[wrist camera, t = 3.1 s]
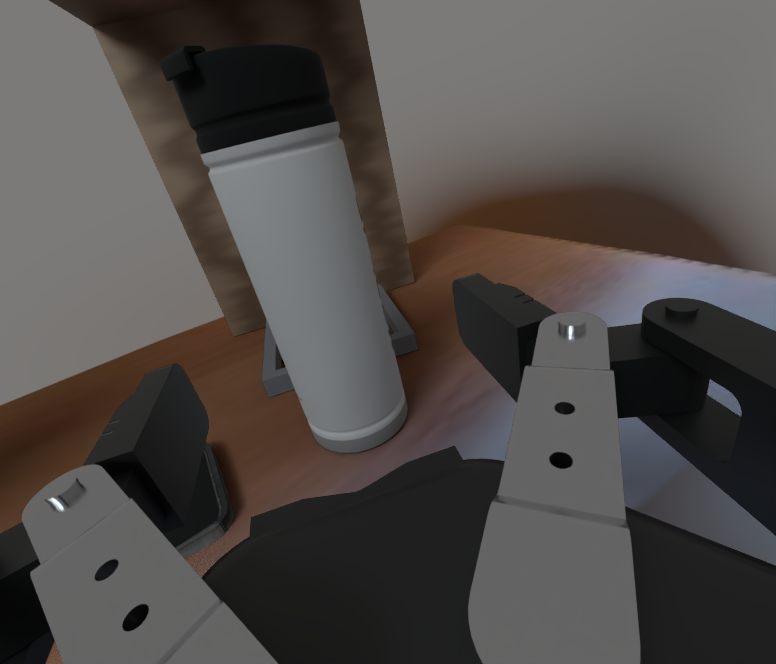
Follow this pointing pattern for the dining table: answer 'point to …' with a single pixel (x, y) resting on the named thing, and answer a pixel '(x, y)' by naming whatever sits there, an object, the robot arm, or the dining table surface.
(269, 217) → the travel mug
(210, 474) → the phone
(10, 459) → the dining table surface
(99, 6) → the overhang shelf
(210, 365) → the dining table surface
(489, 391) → the dining table surface
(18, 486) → the dining table surface
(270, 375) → the seat frame
